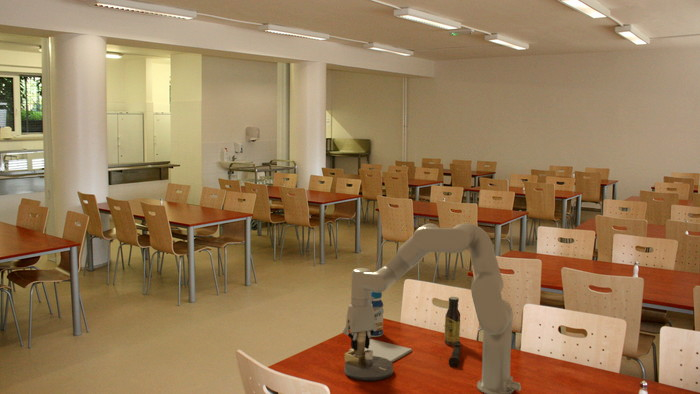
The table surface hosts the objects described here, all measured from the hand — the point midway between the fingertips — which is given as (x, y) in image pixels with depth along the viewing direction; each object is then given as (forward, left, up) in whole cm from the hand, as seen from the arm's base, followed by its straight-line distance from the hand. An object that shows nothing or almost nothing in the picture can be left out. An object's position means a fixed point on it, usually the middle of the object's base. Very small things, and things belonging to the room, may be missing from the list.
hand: (360, 347), depth 234 cm
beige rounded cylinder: (0, +1, -4) cm, 4 cm away
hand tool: (-25, -30, -8) cm, 40 cm away
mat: (+3, -18, -8) cm, 20 cm away
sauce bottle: (-16, -44, -8) cm, 48 cm away
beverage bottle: (+17, -34, -8) cm, 39 cm away
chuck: (-5, +2, -8) cm, 9 cm away
